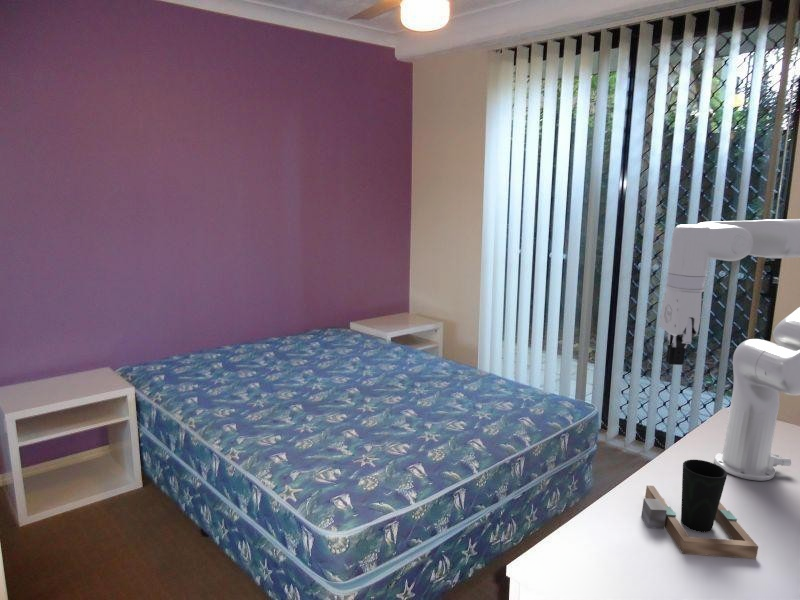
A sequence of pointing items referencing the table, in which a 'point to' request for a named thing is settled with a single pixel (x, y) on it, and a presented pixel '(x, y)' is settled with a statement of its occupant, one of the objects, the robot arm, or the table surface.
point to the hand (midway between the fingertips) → (674, 363)
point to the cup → (701, 494)
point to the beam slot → (739, 546)
